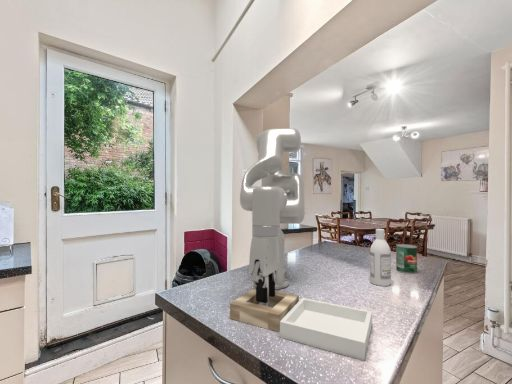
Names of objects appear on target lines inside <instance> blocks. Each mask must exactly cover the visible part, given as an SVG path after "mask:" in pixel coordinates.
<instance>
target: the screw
mask: <svg viewBox="0 0 512 384" xmlns="http://www.w3.org/2000/svg"><path fill="white" fill-rule="evenodd" d="M268 276H269V275H268ZM268 276H267V283H266V287H268V302H267V303H262V302H261V303H259V305H263V306H268V307H272V308H273V307H274V305H273V304H272V303H269V277H268Z"/></svg>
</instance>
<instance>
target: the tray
mask: <svg viewBox="0 0 512 384" xmlns="http://www.w3.org/2000/svg"><path fill="white" fill-rule="evenodd" d="M372 327H373V311H371V310H366V309H361V308H358V307H357V308H356V307H352V306H346V305H341V304H336V303H333V302H332V303H330V302H326V301H321V300H315V299H311V298H310V299H309V298H304V297H301V299H299V302H298V303H297V304H296V305H295V306H294V307H293V308H292V309H291V310H290V311H289V312H288V313H287V315H286V316H285V317H284V318H283V319H282V320H281V321H280V332H279V338H281V339H286V340H289V341H292V342H296V343H299V344H303V345H307V346H311V347H314V348H318V349H320V350H325V351H328V352H332V353H335V354H338V355H342V356H345V357H350V358H353V359H356V360H360V361H363V362H365V361H366V357H367V351H368V347H369V343H370V337H371V333H372Z"/></svg>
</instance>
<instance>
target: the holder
mask: <svg viewBox="0 0 512 384" xmlns="http://www.w3.org/2000/svg"><path fill="white" fill-rule="evenodd" d="M299 296H300V295H299V294H294V293H287V292H282V291H278V290H275V296H274V297H271V296H269V303H272V304H273V305H274V307H273V308H272V307H268V306H263V305H259V303H261V302H258V301H256V287H255V286H254V287H253V288H251V289H250V290H248V291H247V292H245V293H243V294H242V295H241V296H239V297H238V298H236V299H234V300H233V301H231V302H230V303H229V319H230V320H232V321H237V322H241V323H244V324H249V325H251V326H255V327H259V328H263V329H267V330H271V331H274V332H277V333H280V321H281V320H282V319H283V318H284V317H285V316H286V315H287V313H288V312H289V311H290V310H291V309H292V308H293V307H294V306H295V305H296V304H297V303H298V302H299V301H300V297H299Z"/></svg>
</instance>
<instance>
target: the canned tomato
mask: <svg viewBox="0 0 512 384" xmlns="http://www.w3.org/2000/svg"><path fill="white" fill-rule="evenodd" d="M395 247H396V249H395V250H396V251H395V252H396V253H395V256H396V257H395V259H396V262H395V263H396V265H395V266H396V269H395V270H396V271H397V272H398V273H401V274H406V275H407V274H408V275H409V274H410V275H415V274H418V246H417V245H415V244H414V245H413V244H407V243H402V244H401V243H398V244H397V243H396V244H395Z"/></svg>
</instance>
